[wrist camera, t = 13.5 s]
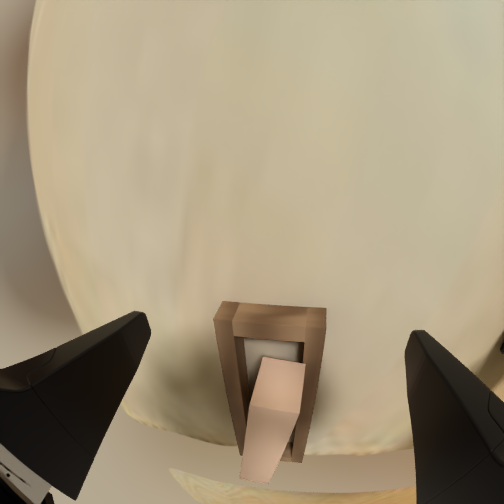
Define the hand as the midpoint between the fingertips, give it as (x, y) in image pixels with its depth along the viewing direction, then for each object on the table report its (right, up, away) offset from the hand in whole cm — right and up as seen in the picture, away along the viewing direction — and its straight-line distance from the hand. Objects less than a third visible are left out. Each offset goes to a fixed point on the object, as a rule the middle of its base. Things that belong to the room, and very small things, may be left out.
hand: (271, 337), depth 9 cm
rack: (+2, -13, +19) cm, 23 cm away
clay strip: (+1, -14, +17) cm, 22 cm away
